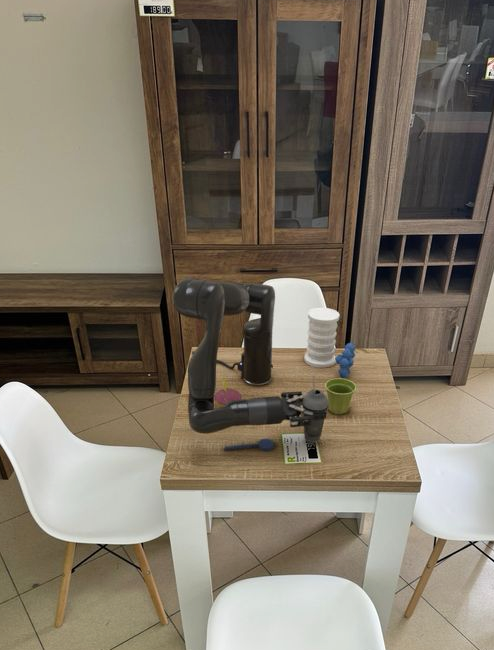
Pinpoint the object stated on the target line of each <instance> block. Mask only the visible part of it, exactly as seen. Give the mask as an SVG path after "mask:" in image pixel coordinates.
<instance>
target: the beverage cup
mask: <svg viewBox="0 0 494 650" xmlns="http://www.w3.org/2000/svg"><path fill="white" fill-rule="evenodd" d="M312 386H313V387H312V388H313V389H311V390H309V391H307V393H306V394H304V395H305V396H304V399H303V402H302V405H301V406H302V408H304V409H306V411H310V412H313V411H326V413H328V396H327V395H326V393H325V392H324V391H322V390H320V389H316V375H312ZM305 416H308V415H306V414H305ZM304 422H308V421H305V420H304ZM324 423H325V419H319V420H313V421H312V425H311V426H303V437H304V440H305V441H306V442H308V443H312V444H314V443H318V442H320V440H321V437H322V433H323V428H324Z"/></svg>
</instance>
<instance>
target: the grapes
mask: <svg viewBox="0 0 494 650" xmlns="http://www.w3.org/2000/svg"><path fill="white" fill-rule="evenodd" d="M355 351H356V345H354V343H351V342H348V343H346V345H344V349H343V351H342V352H341V354H338V355H337V356H336V358H335V360H336V364H337V365H339V369H338V370H337V372H338V375H339V378H343V379H347V378H348V377H349V375H350V374H351V368H352V367H354V363H355V361H354V358H355V357H356V353H355Z"/></svg>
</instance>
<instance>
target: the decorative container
mask: <svg viewBox="0 0 494 650" xmlns="http://www.w3.org/2000/svg"><path fill="white" fill-rule="evenodd" d="M307 318H308V320H309V321H308V330H307V336H308V337H307V340H306V341H307V346H306V352H305V353H304V356H303V358H304V359H303V360H304V363H306V364H307V365H308V366H311V367H313V368H323V369H324V368H325V369H326V368H331V367H332V366H334V365H335V364H337V362H336V360H335V358H336V357H337V356H336V355H335V351H336V343H337V339H336V338H337V329H338V322H339V320H340V313H339V311H337V310H335V309H333V308H330V307H329V308H328V307H314V308H312V309H310V310H308V312H307Z"/></svg>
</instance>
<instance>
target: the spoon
mask: <svg viewBox="0 0 494 650" xmlns="http://www.w3.org/2000/svg"><path fill="white" fill-rule="evenodd" d="M274 447H275V442H274V441H273V440H272V439H270V438H262V439H260V440H259V441H258V443H250V444H249V443H247V444H241V445H240V444H239V445H230V446H229V445H228V446H224V447H223V448H224V450H226V451H229V450H238V449H249V448H250V449H251V448H259V449H260V450H262V451H271V450H273V448H274Z"/></svg>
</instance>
